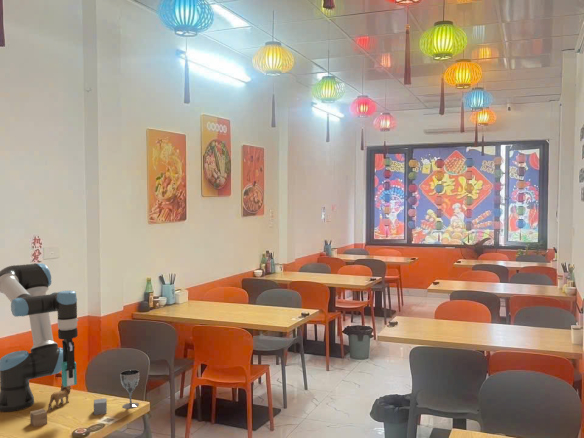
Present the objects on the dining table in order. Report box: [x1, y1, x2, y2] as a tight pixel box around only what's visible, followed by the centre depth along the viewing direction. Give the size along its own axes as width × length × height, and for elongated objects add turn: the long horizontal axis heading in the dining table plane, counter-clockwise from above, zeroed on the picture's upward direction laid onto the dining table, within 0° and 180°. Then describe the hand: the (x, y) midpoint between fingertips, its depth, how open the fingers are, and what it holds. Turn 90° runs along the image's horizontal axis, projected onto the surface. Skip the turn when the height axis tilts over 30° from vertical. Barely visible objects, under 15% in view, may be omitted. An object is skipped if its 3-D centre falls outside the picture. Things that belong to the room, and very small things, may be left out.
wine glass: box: [120, 369, 140, 410], centre depth 240 cm, size 8×8×15 cm
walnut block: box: [29, 408, 48, 428], centre depth 222 cm, size 5×5×5 cm
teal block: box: [61, 361, 78, 387], centre depth 227 cm, size 5×5×9 cm
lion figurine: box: [47, 383, 72, 411], centre depth 242 cm, size 15×5×9 cm, turn 174°
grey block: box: [93, 397, 108, 416], centre depth 233 cm, size 5×5×5 cm
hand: (69, 383), depth 227 cm, fingers closed on teal block, 5 cm apart
